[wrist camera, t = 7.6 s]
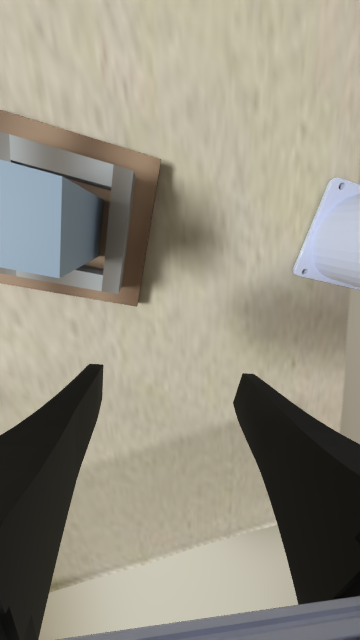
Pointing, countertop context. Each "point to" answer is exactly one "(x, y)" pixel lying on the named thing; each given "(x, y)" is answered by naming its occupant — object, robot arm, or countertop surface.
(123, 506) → the countertop surface
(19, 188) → the peg
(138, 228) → the socket board
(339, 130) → the countertop surface
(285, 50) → the countertop surface
